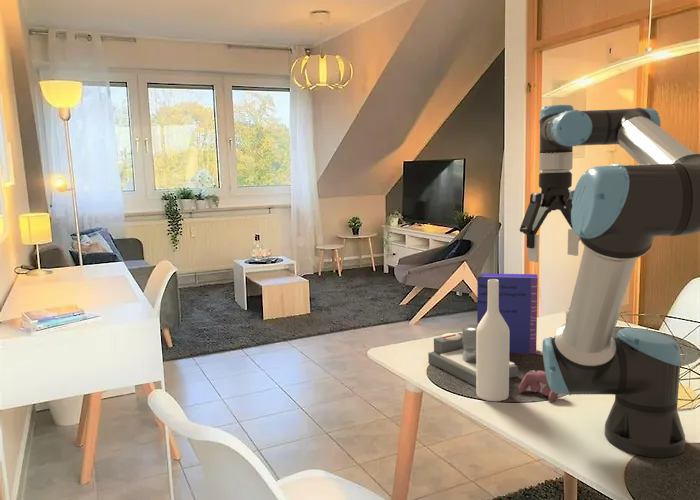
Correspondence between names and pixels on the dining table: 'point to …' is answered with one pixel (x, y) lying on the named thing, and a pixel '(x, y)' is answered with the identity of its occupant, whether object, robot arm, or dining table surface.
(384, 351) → the dining table surface
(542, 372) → the video game controller
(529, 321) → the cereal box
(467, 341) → the steel weight
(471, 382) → the platform scale
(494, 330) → the bottle
